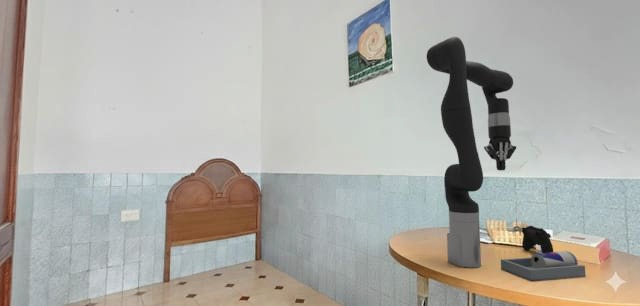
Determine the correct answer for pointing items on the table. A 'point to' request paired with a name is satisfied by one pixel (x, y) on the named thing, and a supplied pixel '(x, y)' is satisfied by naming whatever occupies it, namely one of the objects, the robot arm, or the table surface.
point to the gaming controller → (536, 239)
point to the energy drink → (553, 259)
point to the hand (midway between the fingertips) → (501, 170)
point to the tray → (540, 270)
